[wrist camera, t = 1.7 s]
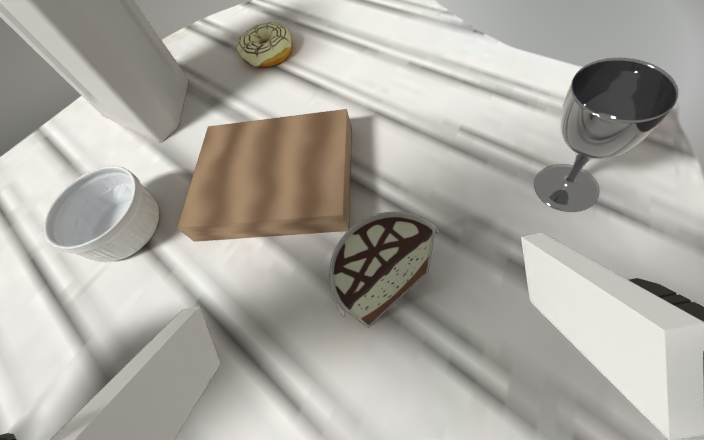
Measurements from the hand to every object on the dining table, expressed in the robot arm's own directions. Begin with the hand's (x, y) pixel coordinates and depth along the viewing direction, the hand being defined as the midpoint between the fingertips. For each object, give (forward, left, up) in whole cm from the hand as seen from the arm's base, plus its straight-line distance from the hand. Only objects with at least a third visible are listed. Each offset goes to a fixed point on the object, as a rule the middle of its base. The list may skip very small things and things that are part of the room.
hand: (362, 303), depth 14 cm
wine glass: (+21, +22, -26) cm, 40 cm away
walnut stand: (-17, +27, -26) cm, 41 cm away
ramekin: (-40, +21, -26) cm, 52 cm away
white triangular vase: (-44, +49, -26) cm, 71 cm away
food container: (-2, +11, -26) cm, 28 cm away
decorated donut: (-23, +59, -26) cm, 68 cm away
